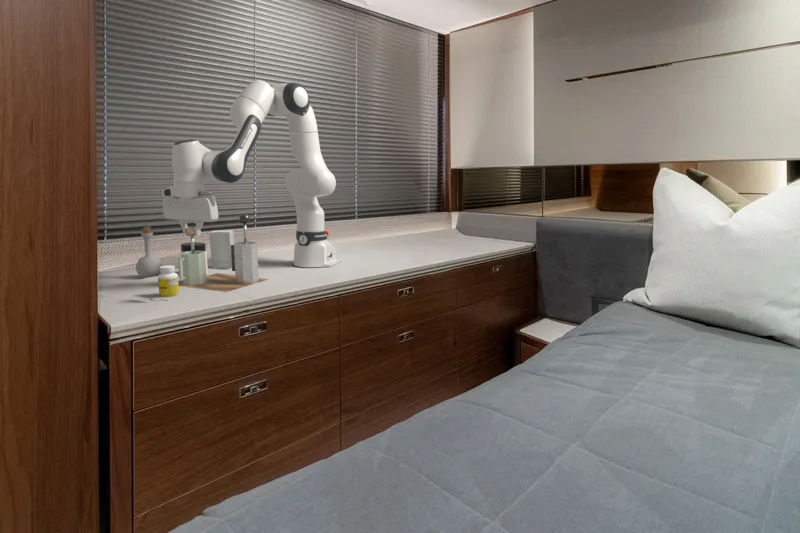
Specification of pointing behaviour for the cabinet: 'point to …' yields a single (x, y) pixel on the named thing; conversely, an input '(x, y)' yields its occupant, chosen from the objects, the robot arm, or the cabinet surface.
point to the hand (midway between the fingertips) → (192, 234)
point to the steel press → (245, 262)
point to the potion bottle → (148, 258)
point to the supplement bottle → (168, 282)
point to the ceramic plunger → (190, 233)
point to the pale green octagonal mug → (192, 268)
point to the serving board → (220, 283)
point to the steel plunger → (244, 225)
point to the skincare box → (221, 248)
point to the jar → (198, 247)
